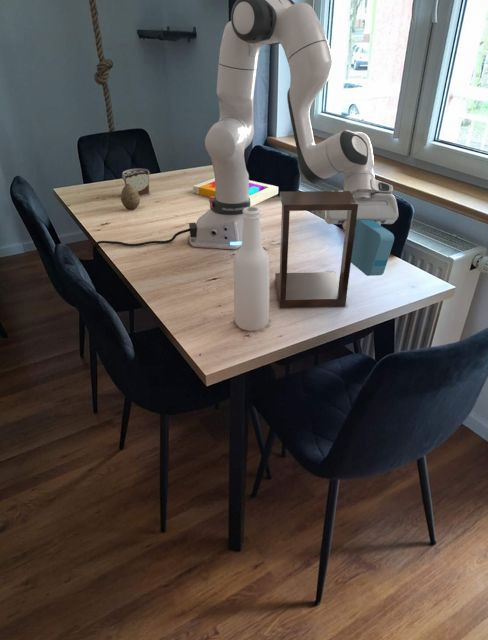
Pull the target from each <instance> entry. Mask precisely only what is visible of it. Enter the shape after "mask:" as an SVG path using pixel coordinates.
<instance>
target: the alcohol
mask: <svg viewBox="0 0 488 640" xmlns="http://www.w3.org/2000/svg"><path fill="white" fill-rule="evenodd" d="M232 269H233V270H232V272H233V303H234V305H233V307H234V309H233V310H234V322H235V324H236V325H237V327H238V328H240V329H242V330H244V331H248V332H256V331H260V330H262V329H264V328H265V327H266V326H267V325H268V323H269V321H270V283H271V282H270V281H271V280H270V279H271V278H270V277H271V274H270V273H271V260H270V255H269V253H268V252H267V250H266V249H265V248H264V247H263V244H262V231H261V209H259V207H256V206H251V207H246V208H244V209H243V230H242V244H241V246H240V247H239V248H238V249H237V250H236V252H235V253H234V256H233V261H232Z"/></svg>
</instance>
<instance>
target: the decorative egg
mask: <svg viewBox="0 0 488 640" xmlns="http://www.w3.org/2000/svg"><path fill="white" fill-rule="evenodd" d="M120 201H121V204H122V206H123V207H124V208H125V209H127V210H130V211H133V210H135V209H137V208H138V207H139V205H140V202H141V196H140V197H139V194H138V192H137V190H136V189H135V188H134V187H133V186H132V185H131V184H126V185H125V184H124V187H123V188H122V190H121V193H120Z"/></svg>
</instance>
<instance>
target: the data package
mask: <svg viewBox="0 0 488 640" xmlns="http://www.w3.org/2000/svg"><path fill="white" fill-rule="evenodd" d="M394 241H395V236H394V233H393V232H391V231H390V230H388V229H387V228H386V227H383V225H379V224H377V223H376V222H374V221H362V220H360V221H358V222H357V224H356V226H355V234H354V242H353V250H352V258H351V265H353V266H354V267H355V268H357V269H358V270H359V271H360V272H361V273H362V274H364V275H365V276H368V277H374V276H375V277H377V276H383V275H384V274H385V270H386V268H387V264H388V261H389V258H390V254H391V251H392V249H393V245H394Z"/></svg>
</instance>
